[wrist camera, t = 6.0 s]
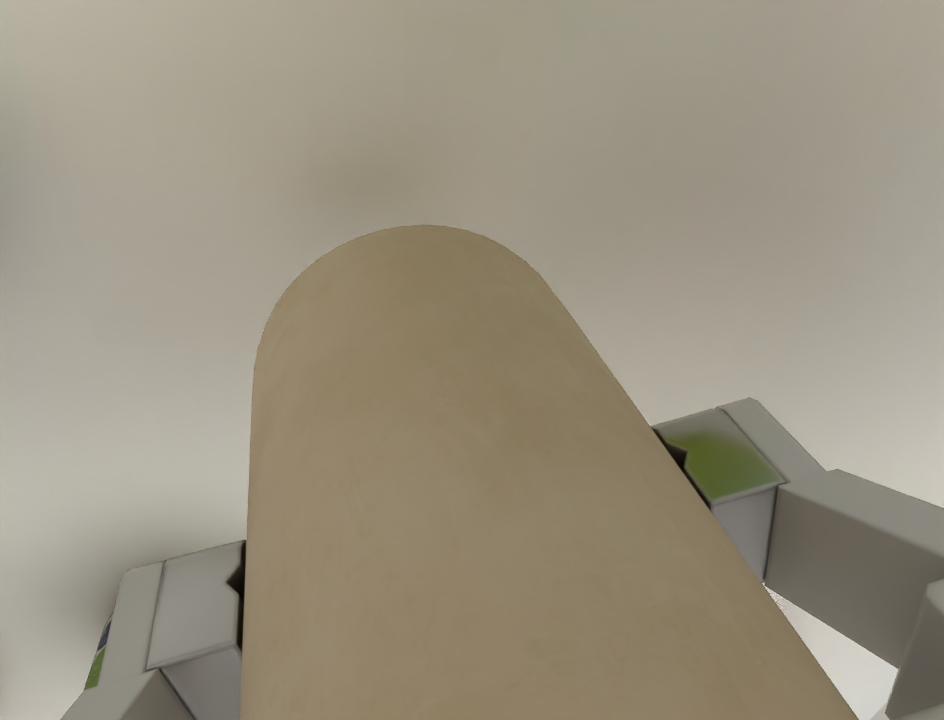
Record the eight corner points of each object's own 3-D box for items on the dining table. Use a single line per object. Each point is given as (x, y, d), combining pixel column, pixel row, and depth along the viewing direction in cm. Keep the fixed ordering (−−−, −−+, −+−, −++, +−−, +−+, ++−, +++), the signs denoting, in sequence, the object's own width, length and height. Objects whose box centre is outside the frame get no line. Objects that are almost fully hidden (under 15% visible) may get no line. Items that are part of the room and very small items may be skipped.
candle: (210, 447, 13) (97, 1451, 4) (325, 164, 10) (518, 1112, 2) (477, 507, 15) (723, 1238, 7) (617, 285, 13) (1224, 971, 5)
